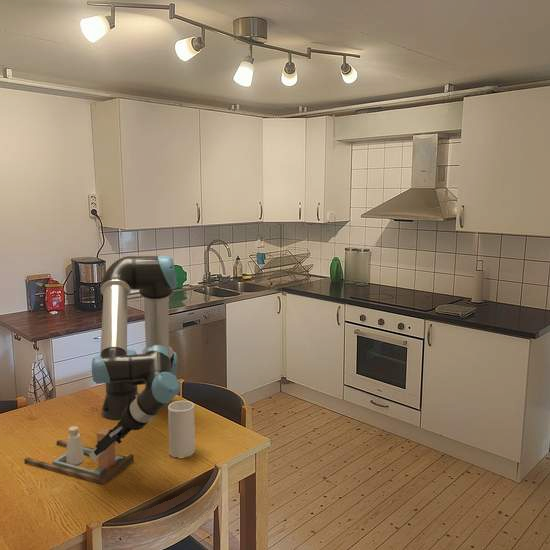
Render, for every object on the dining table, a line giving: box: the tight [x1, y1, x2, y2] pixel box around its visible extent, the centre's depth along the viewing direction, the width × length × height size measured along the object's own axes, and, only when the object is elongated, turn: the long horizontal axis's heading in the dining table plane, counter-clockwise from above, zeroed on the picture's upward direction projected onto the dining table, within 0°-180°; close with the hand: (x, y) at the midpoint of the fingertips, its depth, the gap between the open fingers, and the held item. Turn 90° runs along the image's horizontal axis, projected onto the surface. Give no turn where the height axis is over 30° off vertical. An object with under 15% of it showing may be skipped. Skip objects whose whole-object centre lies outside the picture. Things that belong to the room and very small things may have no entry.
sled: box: [51, 428, 123, 477], centre depth 156 cm, size 18×11×12 cm, turn 67°
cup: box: [167, 400, 196, 458], centre depth 164 cm, size 8×8×16 cm
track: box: [24, 439, 135, 486], centre depth 158 cm, size 31×14×2 cm, turn 67°
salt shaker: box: [65, 425, 85, 466], centre depth 159 cm, size 5×5×11 cm
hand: (97, 454), depth 155 cm, fingers closed on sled, 3 cm apart
